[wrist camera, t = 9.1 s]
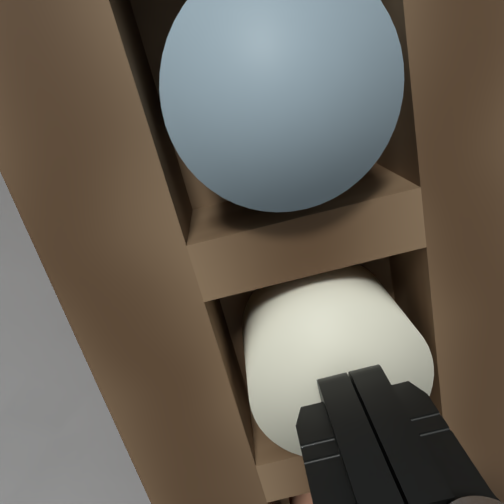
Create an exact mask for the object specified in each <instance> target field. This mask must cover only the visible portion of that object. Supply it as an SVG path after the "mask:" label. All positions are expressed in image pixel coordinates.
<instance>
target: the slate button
mask: <svg viewBox="0 0 504 504" xmlns="http://www.w3.org/2000/svg"><path fill="white" fill-rule="evenodd" d="M403 91H404V62H403V56H402V50H401V45H400V42H399V38H398V35H397V32H396V29H395V26H394V24H393V22H392V20H391V17H390V15H389V13H388V12H387V10H386V8H385V7H384V5H383V3H382V2H381V0H187V1H186V3H185V4H184V5H183V7H182V8H181V10H180V12H179V14H178V15H177V17H176V19H175V20H174V23H173V25H172V27H171V30H170V32H169V34H168V37H167V40H166V43H165V47H164V51H163V54H162V60H161V67H160V80H159V92H160V102H161V109H162V114H163V118H164V122H165V126H166V128H167V131H168V134H169V136H170V139H171V141H172V143H173V145H174V147H175V149H176V151H177V153H178V155H179V156H180V158H181V159H182V160H183V162H184V163H185V165H186V166H187V168H188V169H189V170H190V171H191V172H192V173H193V174H194V175H195V177H196V178H197V179H198V180H199V181H201V182H202V183H203V184H204V185H205V186H206V187H208V188H209V189H210V190H212V191H213V192H215V193H216V194H218V195H219V196H221V197H222V198H224V199H226V200H228V201H230V202H232V203H235V204H237V205H240V206H243V207H246V208H249V209H254V210H259V211H265V212H292V211H298V210H303V209H308V208H311V207H314V206H317V205H320V204H323V203H325V202H327V201H329V200H331V199H334V198H335V197H337V196H339V195H340V194H342V193H343V192H345V191H347V190H348V189H349V188H350V187H352V186H353V185H354V184H356V183H357V182H358V181H359V180H360V179H361V178H362V177H363V176H364V175H365V174H366V173H367V172H368V171H369V170H370V169H371V168H372V166H373V165H374V164H375V163H376V161H377V160H378V159H379V157H380V156H381V154H382V152H383V151H384V149H385V148H386V146H387V144H388V142H389V140H390V138H391V136H392V134H393V131H394V129H395V126H396V123H397V120H398V117H399V114H400V109H401V104H402V99H403Z"/></svg>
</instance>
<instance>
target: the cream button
mask: <svg viewBox="0 0 504 504" xmlns="http://www.w3.org/2000/svg"><path fill="white" fill-rule="evenodd" d="M242 337H243V346H244V356H245V366H246V376H247V386H248V395H249V403H250V407H251V411H252V414H253V416H254V419H255V421H256V422H257V424H258V426H259V428H260V429H261V430H262V431H263V432H264V434H265V435H266V436H267V437H268V438H269V439H270V440H272V441H273V442H274V443H275V444H277V445H278V446H280V447H281V448H283V449H285V450H287V451H289V452H291V453H294V454H297V455H300V456H302V452H301V448H300V443H299V439H298V434H297V430H296V422H297V419H298V415H299V412H300V408H301V407H303V406H307V405H312V404H316V403H320V402H321V399H320V394H319V390H318V385H317V379H321V378H325V377H329V376H333V375H337V374H341V373H345V372H347V374H348V372H349V371H353V370H357V369H361V368H365V367H369V366H373V365H378V364H379V365H380V366H381V368H382V369H383V371H384V373H385V375H386V376H387V378H388V380H389V382H390V383H391V385H394V384H398V383H402V382H406V381H409V382H411V383H412V384H414V385H415V386H417V387H418V388H420V389H421V390H423V391H424V392H425V393H427V394H428V396H430V393H431V390H432V386H433V379H434V365H433V359H432V355H431V352H430V349H429V346H428V345H427V343H426V341H425V339H424V338H423V336H422V335H421V334H420V333H419V331H418V330H417V329H416V328H415V326H414V325H413V324H412V323H411V321H410V320H409V319H408V317H407V316H406V315H405V314H404V312H403V311H402V310H401V309H400V307H399V306H398V305H397V304H396V302H395V301H394V300H393V299H392V297H391V296H390V295H389V293H388V292H387V291H386V290H385V288H384V287H383V286H382V285H381V283H380V282H379V281H378V280H377V278H376V277H375V276H374V275H373V274H372V273H371V272H370V271H368V270H367V269H366V268H364V267H363V266H361V265H359V264H356V265H352V266H348V267H344V268H340V269H336V270H332V271H328V272H324V273H320V274H316V275H312V276H308V277H304V278H300V279H296V280H292V281H288V282H283V283H279V284H275V285H271V286H267V287H263V288H259V289H255V290H254V291H253V293H252V295H251V296H250V298H249V300H248V302H247V305H246V307H245V310H244V314H243V319H242Z"/></svg>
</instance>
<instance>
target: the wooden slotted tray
mask: <svg viewBox="0 0 504 504" xmlns="http://www.w3.org/2000/svg"><path fill="white" fill-rule="evenodd" d="M186 1H187V0H0V172H1V174H2V176H3V178H4V181H5V183H6V185H7V187H8V189H9V192H10V194H11V196H12V198H13V200H14V203H15V205H16V207H17V209H18V211H19V214H20V216H21V218H22V220H23V222H24V225H25V227H26V229H27V231H28V233H29V236H30V238H31V240H32V242H33V244H34V247H35V249H36V251H37V253H38V255H39V258H40V260H41V262H42V264H43V266H44V269H45V271H46V273H47V275H48V277H49V280H50V282H51V284H52V286H53V288H54V291H55V293H56V295H57V297H58V299H59V302H60V304H61V306H62V308H63V310H64V313H65V315H66V317H67V319H68V321H69V324H70V326H71V328H72V330H73V332H74V335H75V337H76V339H77V341H78V343H79V346H80V348H81V350H82V352H83V354H84V357H85V359H86V361H87V363H88V365H89V368H90V370H91V372H92V374H93V376H94V379H95V381H96V383H97V385H98V387H99V390H100V392H101V394H102V396H103V398H104V401H105V403H106V405H107V407H108V409H109V412H110V414H111V416H112V418H113V420H114V423H115V425H116V427H117V429H118V431H119V434H120V436H121V438H122V440H123V442H124V445H125V447H126V449H127V451H128V453H129V456H130V458H131V460H132V462H133V464H134V467H135V469H136V471H137V473H138V475H139V478H140V480H141V482H142V484H143V486H144V489H145V491H146V493H147V495H148V497H149V500H150V502H151V504H290V502H289V497H293V496H297V495H301V494H305V493H310V488H309V484H308V479H307V475H306V470H305V465H304V461H303V457H302V456H300V455H297V454H294V453H291V452H289V451H287V450H285V449H283V448H281V447H280V446H278V445H277V444H275V443H274V442H273V441H272V440H270V439H269V438H268V437H267V436H266V435H265V434H264V432H263V431H262V430H261V429H260V428H259V426H258V424H257V422H256V421H255V419H254V416H253V414H252V411H251V407H250V403H249V395H248V386H247V376H246V366H245V356H244V346H243V337H242V319H243V314H244V310H245V307H246V305H247V302H248V300H249V298H250V296H251V295H252V293H253V291H254V290H255V289H259V288H263V287H267V286H271V285H275V284H279V283H283V282H288V281H292V280H296V279H300V278H304V277H308V276H312V275H316V274H320V273H324V272H328V271H332V270H336V269H340V268H344V267H348V266H352V265H356V264H359V265H361V266H363V267H364V268H366V269H367V270H368V271H370V272H371V273H372V274H373V275H374V276H375V277H376V278H377V280H378V281H379V282H380V283H381V285H382V286H383V287H384V288H385V290H386V291H387V292H388V293H389V295H390V296H391V297H392V299H393V300H394V301H395V302H396V304H397V305H398V306H399V307H400V309H401V310H402V311H403V312H404V314H405V315H406V316H407V317H408V319H409V320H410V321H411V323H412V324H413V325H414V326H415V328H416V329H417V330H418V331H419V333H420V334H421V335H422V336H423V338H424V339H425V341H426V343H427V345H428V346H429V349H430V352H431V355H432V359H433V365H434V379H433V386H432V390H431V393H430V396H429V397H430V399H431V400H432V402H433V403H434V405H435V406H436V408H437V409H438V411H439V413H440V415H442V417H443V418H444V420H445V421H446V423H447V424H448V426H449V429H450V431H451V430H452V432H453V433H454V435H455V436H456V438H457V439H458V441H459V443H460V444H461V446H462V447H463V449H464V450H465V452H466V453H467V455H468V456H469V458H470V459H471V461H472V462H473V464H474V465H475V467H476V468H477V470H478V471H479V473H480V474H481V476H482V477H483V479H484V480H485V482H486V483H487V485H488V487H489V488H490V489H491V491H492V492H493V493H494V495H495V496H496V497H497V498H498V499H499V500H500V501H501V502H503V503H504V0H381V2H382V3H383V5H384V7H385V8H386V10H387V12H388V13H389V15H390V17H391V20H392V22H393V24H394V26H395V29H396V32H397V35H398V38H399V42H400V45H401V50H402V56H403V62H404V91H403V99H402V104H401V109H400V114H399V117H398V120H397V123H396V126H395V129H394V131H393V134H392V136H391V138H390V140H389V142H388V144H387V146H386V148H385V149H384V151H383V152H382V154H381V156H380V157H379V159H378V160H377V161H376V163H375V164H374V165H373V166H372V168H371V169H370V170H369V171H368V172H367V173H366V174H365V175H364V176H363V177H362V178H361V179H360V180H359V181H358V182H357V183H356V184H354V185H353V186H352V187H350V188H349V189H348V190H347V191H345V192H343V193H342V194H340V195H339V196H337V197H335V198H334V199H331V200H329V201H327V202H325V203H323V204H320V205H317V206H314V207H311V208H308V209H303V210H298V211H292V212H265V211H259V210H254V209H249V208H246V207H243V206H240V205H237V204H235V203H232V202H230V201H228V200H226V199H224V198H222V197H221V196H219V195H218V194H216V193H215V192H213V191H212V190H210V189H209V188H208V187H206V186H205V185H204V184H203V183H202V182H201V181H199V180H198V179H197V178H196V177H195V175H194V174H193V173H192V172H191V171H190V170H189V169H188V168H187V166H186V165H185V163H184V162H183V160H182V159H181V158H180V156H179V155H178V153H177V151H176V149H175V147H174V145H173V143H172V141H171V139H170V136H169V134H168V131H167V128H166V126H165V122H164V118H163V114H162V109H161V102H160V92H159V80H160V67H161V60H162V54H163V51H164V47H165V43H166V40H167V37H168V34H169V32H170V30H171V27H172V25H173V23H174V20H175V19H176V17H177V15H178V14H179V12H180V10H181V8H182V7H183V5H184V4H185V3H186Z"/></svg>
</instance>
